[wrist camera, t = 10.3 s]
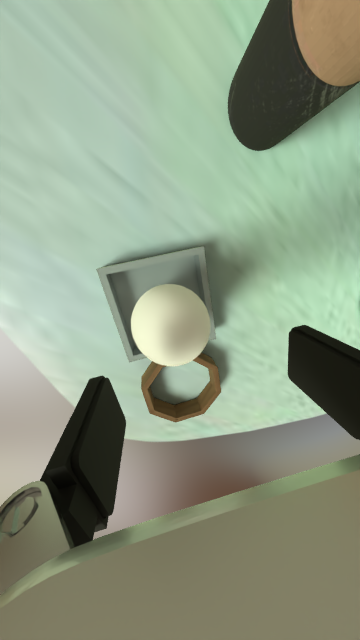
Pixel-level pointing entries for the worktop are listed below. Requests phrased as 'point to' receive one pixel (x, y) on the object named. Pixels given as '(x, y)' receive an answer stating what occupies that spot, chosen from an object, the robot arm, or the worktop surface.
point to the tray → (144, 274)
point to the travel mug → (294, 68)
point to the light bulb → (170, 325)
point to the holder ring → (185, 408)
